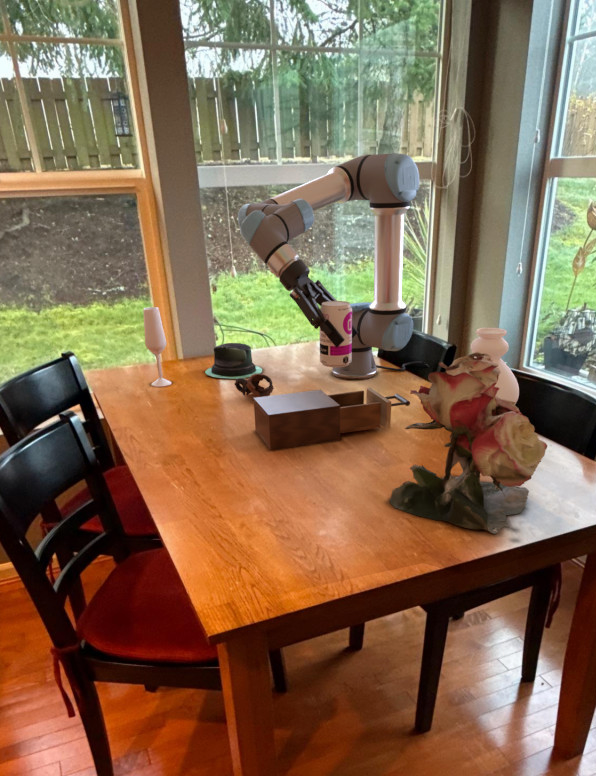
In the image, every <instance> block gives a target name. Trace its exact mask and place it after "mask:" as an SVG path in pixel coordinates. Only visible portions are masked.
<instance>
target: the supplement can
mask: <svg viewBox="0 0 596 776" xmlns="http://www.w3.org/2000/svg"><path fill="white" fill-rule="evenodd" d="M350 304H351V303H350V302H349V301H345V300H337V301H327V302H323V303H322V306H320V307H319V308H320V310H321V312H322V314H323V316H324V318H325V321H326V320H327V319H328V320H329V321H330V322H331V324H332V325H333V326H334V327H335V328H336V330H337V331H338V332H339V333H340V335H341V336H342V337H343V338H344V339H345V340H344V341H343V342H342V343H341V344H340V345H339V346H338V347H337V348H336V346H335V345H334V344H333V343H332V342H331V340H330V339H329V338H328V337H327V335H326V334H325V333H324V332H323V331H322V329H321V328H320V327H318V329H319V362H320V363H321V365H322V366H323V367H327V368H328V367H329V368H333V367H344V366H347V365H349V363H350V362H351V361H352V308H351V306H350Z"/></svg>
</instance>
